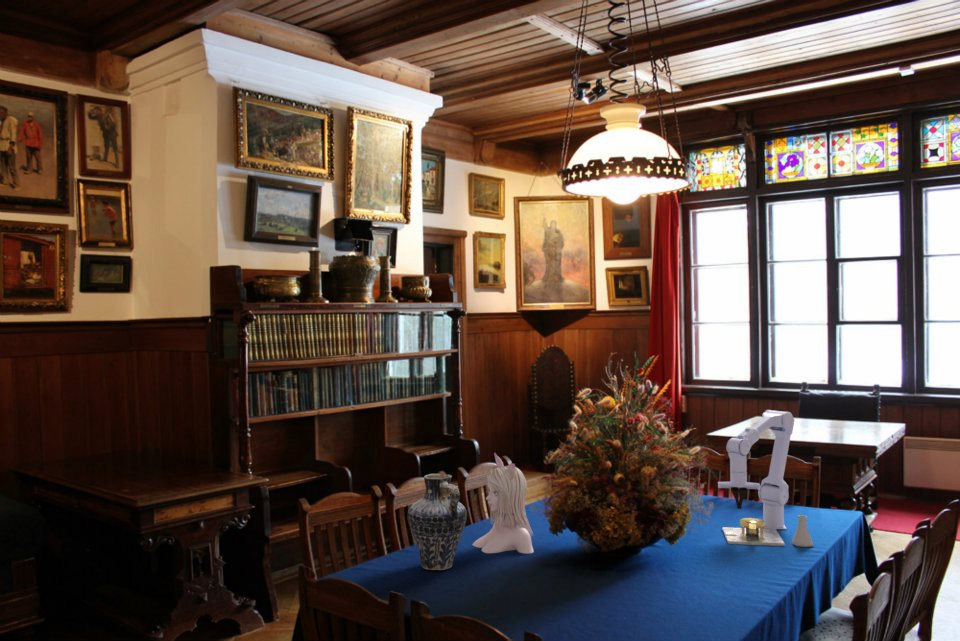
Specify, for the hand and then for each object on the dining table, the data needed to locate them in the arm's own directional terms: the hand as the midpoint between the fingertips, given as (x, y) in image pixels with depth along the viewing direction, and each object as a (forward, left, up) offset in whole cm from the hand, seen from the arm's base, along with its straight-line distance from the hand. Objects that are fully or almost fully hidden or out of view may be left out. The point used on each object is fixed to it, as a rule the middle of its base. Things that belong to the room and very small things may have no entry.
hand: (739, 508), depth 287 cm
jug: (+50, -101, -10) cm, 113 cm away
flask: (+8, +20, -11) cm, 24 cm away
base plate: (+2, +4, -10) cm, 11 cm away
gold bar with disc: (+5, +4, -9) cm, 11 cm away
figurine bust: (+23, -84, -11) cm, 87 cm away
